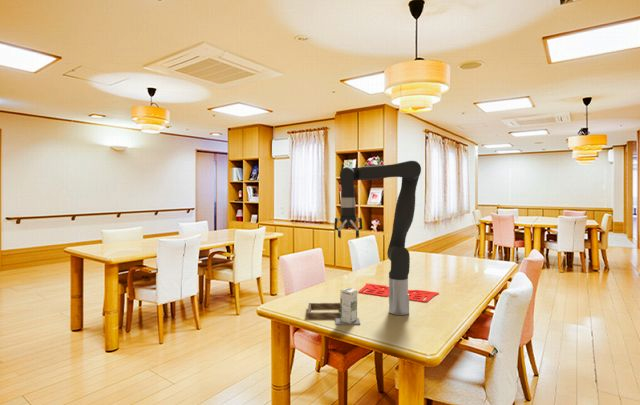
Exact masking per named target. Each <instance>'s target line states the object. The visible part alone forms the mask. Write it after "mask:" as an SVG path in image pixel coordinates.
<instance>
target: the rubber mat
mask: <svg viewBox="0 0 640 405" xmlns="http://www.w3.org/2000/svg"><path fill="white" fill-rule="evenodd" d="M334 319H335V325H336V326H343V325H344V326H357V325H358V326H359V325H361V321H360V318H359V317H357V320H356V321H354V322H352V323H347V322H342V321H340V318H334Z"/></svg>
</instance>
